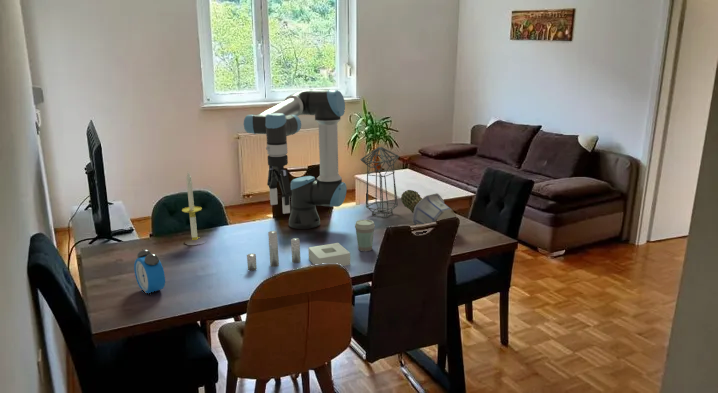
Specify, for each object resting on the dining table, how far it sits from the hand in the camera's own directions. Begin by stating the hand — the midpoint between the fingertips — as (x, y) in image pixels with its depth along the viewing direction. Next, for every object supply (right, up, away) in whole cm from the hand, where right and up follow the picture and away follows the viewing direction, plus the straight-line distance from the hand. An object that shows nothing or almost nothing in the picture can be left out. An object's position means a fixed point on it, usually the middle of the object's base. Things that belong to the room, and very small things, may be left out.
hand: (280, 208), depth 219 cm
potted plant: (+62, -10, +47) cm, 79 cm away
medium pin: (+5, -22, +9) cm, 24 cm away
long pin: (-3, -23, +6) cm, 24 cm away
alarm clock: (-44, -30, -15) cm, 55 cm away
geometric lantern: (+42, -5, +68) cm, 80 cm away
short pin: (-11, -24, +2) cm, 26 cm away
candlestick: (-43, -16, +33) cm, 56 cm away
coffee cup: (+33, -18, +22) cm, 44 cm away
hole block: (+19, -22, +8) cm, 30 cm away
